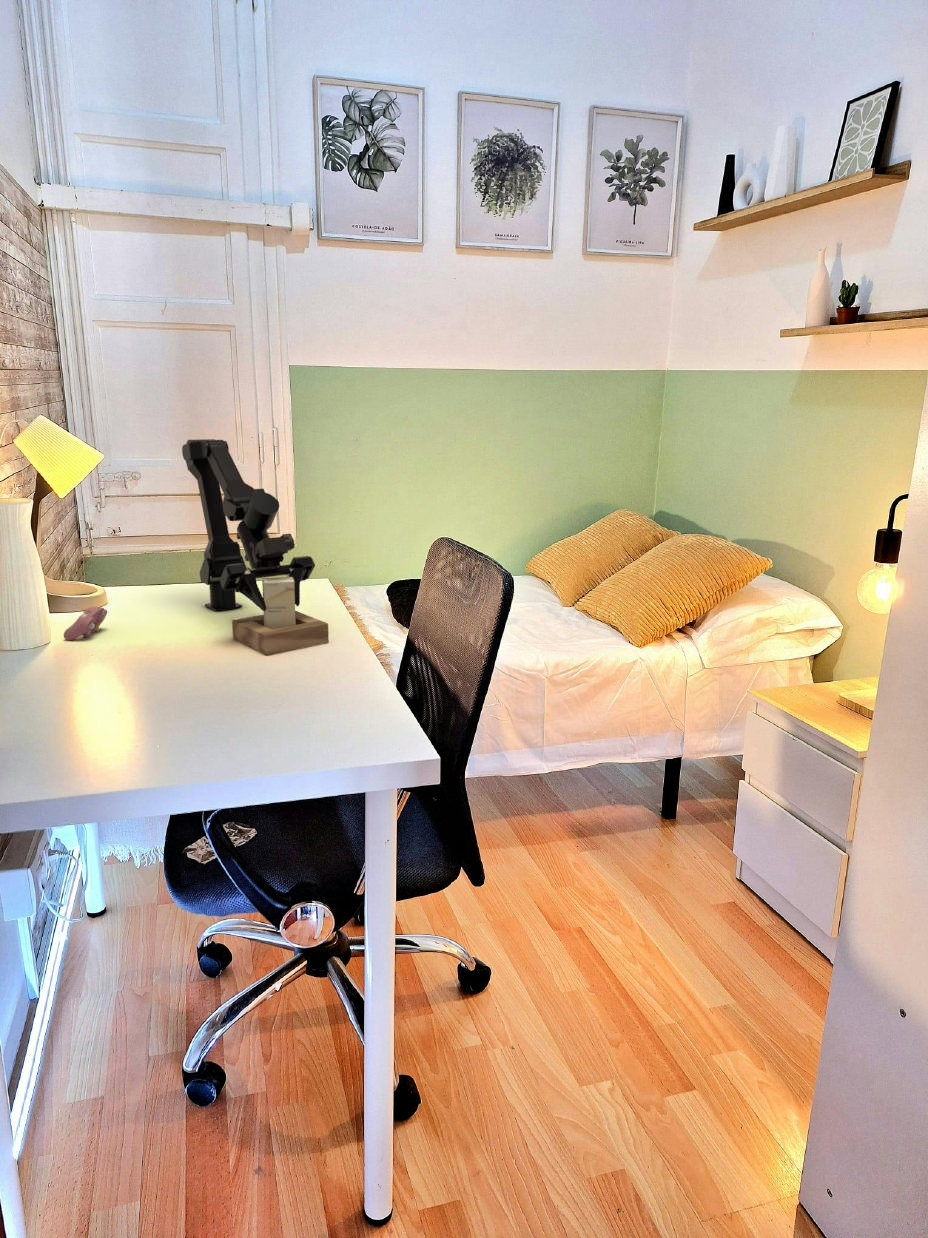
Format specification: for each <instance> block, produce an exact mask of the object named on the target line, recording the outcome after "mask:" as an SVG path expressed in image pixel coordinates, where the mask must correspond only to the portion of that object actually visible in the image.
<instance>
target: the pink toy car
mask: <svg viewBox="0 0 928 1238" xmlns="http://www.w3.org/2000/svg"><path fill="white" fill-rule="evenodd" d="M107 615H108V610H107V609H105V608H104V607H101V606H100V607H99V606H98V605H95V606H90V607H88V608H85V610H84V611H83V612H82V613H81V615H79V617H78V618H77V619H76V620H75V622H74V623H73V624H71V625H70V626H68V627H67V628H66V630H65V631H64V633H63V639H64V640H65V641H69V642H70V641H74V640H76V639H78V638H80V637H81V636H83V637H85V638H88V637H89V636H90V635H91V634H92V633H93V634H95V633H96V632H97V631H99V629H100V628H99V627H100V625H101V624H102V623H103V622H104V621H105V619H106V618H107Z"/></svg>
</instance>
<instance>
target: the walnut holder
mask: <svg viewBox="0 0 928 1238" xmlns="http://www.w3.org/2000/svg"><path fill="white" fill-rule="evenodd" d="M295 620H296V625H293V626H288V627H283V628H278V629H270V628H267V627H265V626H264V614H260V615H254V616H247V617H243V618H238V619H232V620H231V625H232V639H233V640H234V641H236V642H238V643H241V644H242V645H245V646H246V647H248V648H251V649H252V650H254V651H257V652H259V653H260V654H261V655H262V654H263V655H264V656H270V655H276V654H281V653H285V652H290V651H295V650H299V649H303V648H308V647H313V646H319V645H323V644H328V643H329V623H328V622H325V621H322V620H320V619H317V618H315V617H313V616H311V615H307V614H305V613H302V612H299V611H298V610H295Z"/></svg>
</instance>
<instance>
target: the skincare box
mask: <svg viewBox="0 0 928 1238" xmlns="http://www.w3.org/2000/svg"><path fill="white" fill-rule="evenodd" d="M261 580H262V581H261V582H262V583H261V585H262V597H263V599H264V602H265V605H266V610H265V611H263V615H264V626H265V627H267V628H270V629H278V628H283V627H288V626H293V625H296V620H295V611H296V605H295V586H294V579H293V577H287V576H286V577H285V576H284V577H264V578H261Z"/></svg>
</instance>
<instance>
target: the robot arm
mask: <svg viewBox="0 0 928 1238" xmlns="http://www.w3.org/2000/svg"><path fill="white" fill-rule="evenodd" d="M229 447H230V446H229V443H228V442H227V441H226V440H224V439H214V438H211V439H210V438H209V439H207V438H206V439H200V438H199V439H188V440H187V441H186V443H185V444H183V445H182V447H181V453H182V457H183V460H184V461H185V463H186V468H187V470H188V471H189V473H191V475H192V476H193V477H194V478H195V480H196V483H197V486H198V490H199V491H198V492H199V496H200V502H201V506H202V512H203V518H204V523H205V529H206V535H207V539H208V540H207V541H208V542H207V545H206V546H205V549H204V552H203V561H202V564H201V567H200V570H199V579H200V582H201V583H203V584H204V585H206V586H209V599H210V602H209V603H208V602H207V603H205V604H204V607H206V608H208V609H211V610H213V611H215V612H221V611H228V610H233V609H240V608H242V607H243V604H240V603H237V601H236V600H237V599H236V593H240V594H242V595H243V596H244V597H246V598H247V599H249V600H250V601H251V602H252V603H254V605H256V606H257V607H258V608H259V609H260V610H261V612H264V611H265V610H266V605H265V602H264V599H263V594H262V593H261V590H260V588H259V586H258V584H257V579H262V578H273V577H280V576H286V577H293V579H294V586H295V607H299V606H300V604H301V603H300V602H301V601H300V600H301V597H300V595H301V590H300V589H301V582H302V581H306V580H308V579H310V576H311V574H312V572H313V571H314V569H315V567H316V563H315V560H314V559H313V558H312V556H309V555H303V556H302V555H301V556H296V557H292V559H291V562H290V563H289V564H285V565H284V564H283V565H281V562H283V561H284V559H285V557H284V555H285V554H288V553H289V551H292V550H293V549H295V548H296V547H295V546H296V545H295V541H294V538H293V536H292V534H291V533H283V534H282V535H279V536H278V537H270V535H269V533H268V530H269V529H270V528H271V527H272V525H273V523H274V520H275V518H276V517H277V514H278V511H279V509H280V502H279V500H278V499H277V498H276V497H275V496H274V495H273V494H270V493H269V492H266V490H265V489H264V488H254V487H253V486H251V485H250V484H248V483H246V482H245V481H244V479H243V477H242V475H241V474H240V471H239V470H238V467H237V465H236V463H235V460H234V459H233V457H232V455H231V453H230V451H229V450H230V448H229ZM222 493H223V494H222ZM222 495H223V496H222ZM227 520H228V521H230V522H238V521H239V523H238V524H237V528H236V531H237V533H236V539H237V540H240V542H241V544H242V548H243V550H244V553H245V555H244V556H243V555H242V552H241V547H240V544H239V543H238V541H234V540H233V539H232V538H231V536H230V532H229V527H228V521H227ZM244 559H245V560H244ZM246 562H248V563H249V566H250V567H248V566H247V564H245V563H246Z"/></svg>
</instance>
